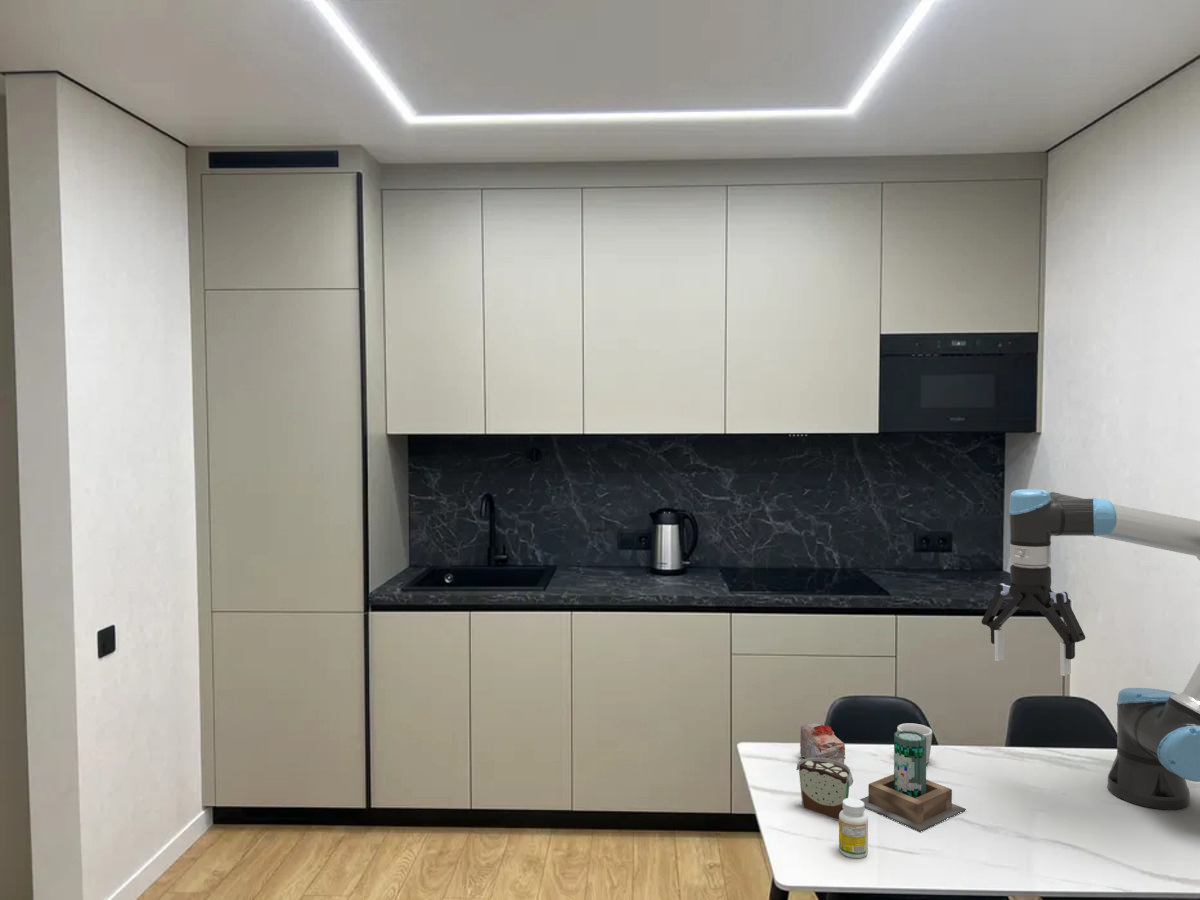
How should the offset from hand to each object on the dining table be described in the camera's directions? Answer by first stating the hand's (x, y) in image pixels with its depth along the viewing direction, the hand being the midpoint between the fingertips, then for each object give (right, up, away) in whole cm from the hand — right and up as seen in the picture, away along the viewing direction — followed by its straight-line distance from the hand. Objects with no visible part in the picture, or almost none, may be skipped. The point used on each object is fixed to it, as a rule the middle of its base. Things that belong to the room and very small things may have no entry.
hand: (1031, 667), depth 175 cm
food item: (-36, -31, +27) cm, 55 cm away
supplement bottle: (-41, -32, -13) cm, 54 cm away
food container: (-41, -32, +4) cm, 52 cm away
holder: (-23, -31, +5) cm, 39 cm away
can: (-23, -31, +5) cm, 39 cm away
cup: (-13, -31, +28) cm, 44 cm away
